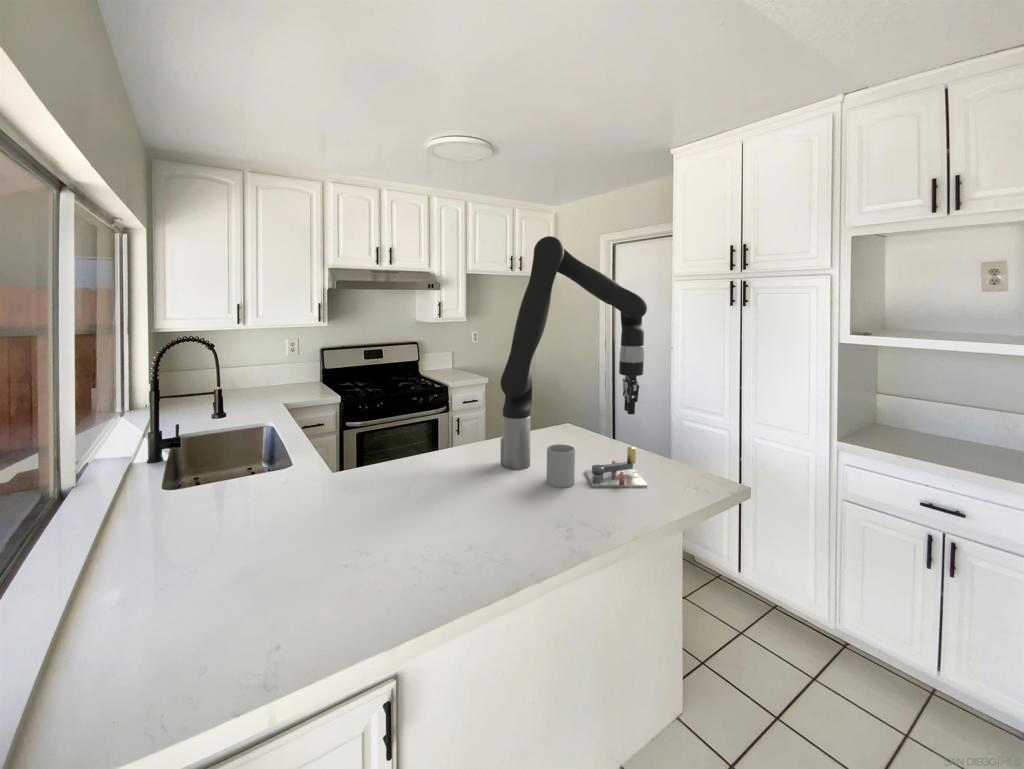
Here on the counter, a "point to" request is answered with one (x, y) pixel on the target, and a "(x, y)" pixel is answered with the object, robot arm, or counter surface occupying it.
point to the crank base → (615, 479)
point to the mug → (560, 466)
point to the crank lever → (617, 464)
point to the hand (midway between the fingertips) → (629, 412)
